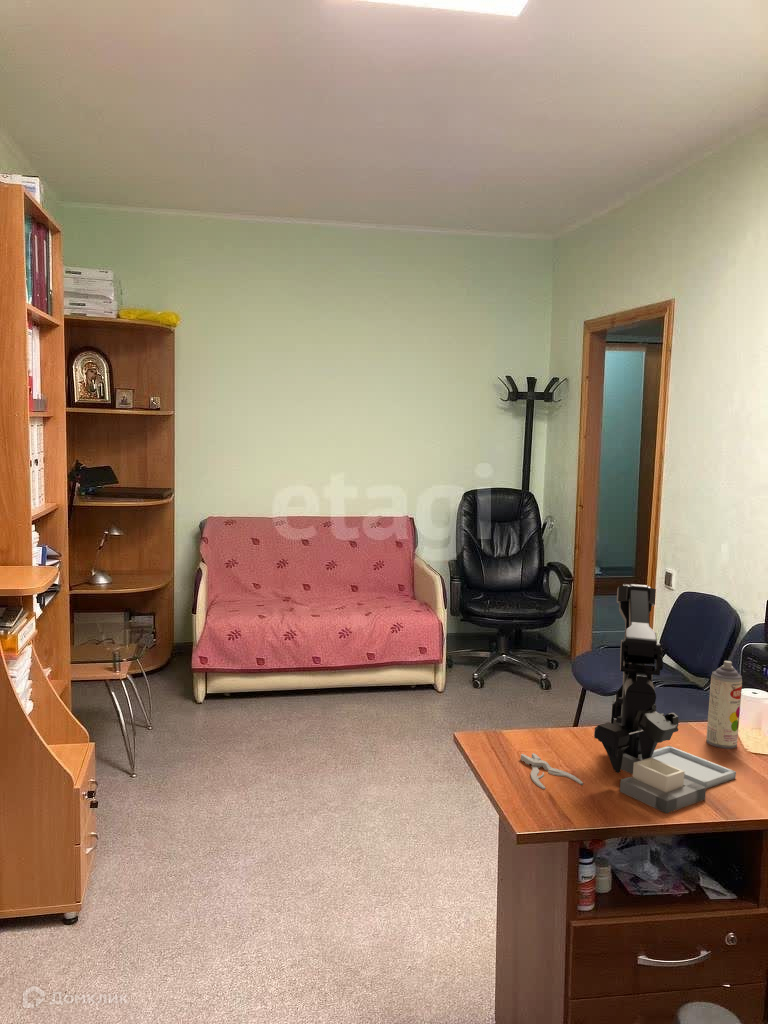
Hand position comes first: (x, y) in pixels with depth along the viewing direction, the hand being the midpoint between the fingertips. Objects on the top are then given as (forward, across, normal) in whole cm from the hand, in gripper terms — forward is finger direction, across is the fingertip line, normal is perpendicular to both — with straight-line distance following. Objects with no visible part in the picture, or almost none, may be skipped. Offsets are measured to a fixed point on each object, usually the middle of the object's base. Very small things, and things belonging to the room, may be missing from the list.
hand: (631, 768), depth 168 cm
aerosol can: (+3, +38, +4) cm, 38 cm away
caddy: (+3, 0, -4) cm, 5 cm away
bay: (+3, 0, -8) cm, 8 cm away
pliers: (+3, -13, +12) cm, 18 cm away
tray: (+3, +16, -2) cm, 16 cm away
